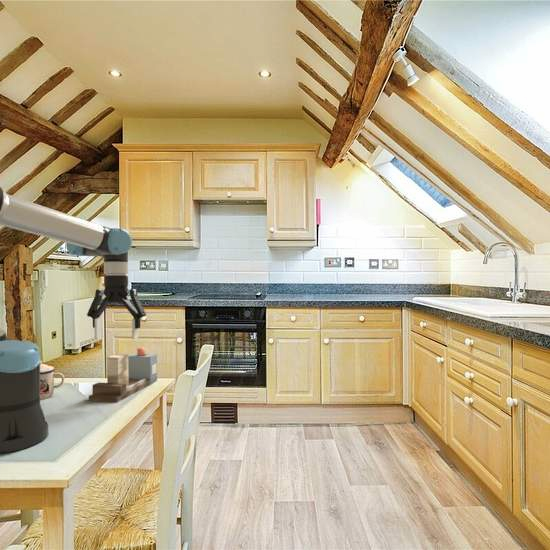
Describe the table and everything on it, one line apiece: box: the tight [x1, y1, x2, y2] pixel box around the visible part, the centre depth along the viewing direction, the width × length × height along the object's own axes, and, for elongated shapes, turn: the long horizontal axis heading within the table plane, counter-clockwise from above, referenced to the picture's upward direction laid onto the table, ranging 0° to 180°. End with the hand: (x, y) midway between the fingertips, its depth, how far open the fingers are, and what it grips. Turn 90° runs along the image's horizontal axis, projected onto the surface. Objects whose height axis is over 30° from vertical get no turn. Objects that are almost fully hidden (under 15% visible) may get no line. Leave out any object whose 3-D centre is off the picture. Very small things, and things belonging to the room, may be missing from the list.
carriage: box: [106, 353, 129, 387], centre depth 135 cm, size 6×4×11 cm, turn 169°
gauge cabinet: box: [128, 353, 158, 385], centre depth 150 cm, size 5×10×10 cm, turn 79°
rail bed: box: [88, 377, 155, 403], centre depth 139 cm, size 26×10×4 cm, turn 169°
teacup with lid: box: [40, 360, 65, 401], centre depth 133 cm, size 12×9×12 cm
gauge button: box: [136, 347, 146, 356], centre depth 150 cm, size 3×3×4 cm
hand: (116, 338), depth 135 cm, fingers open, 13 cm apart
